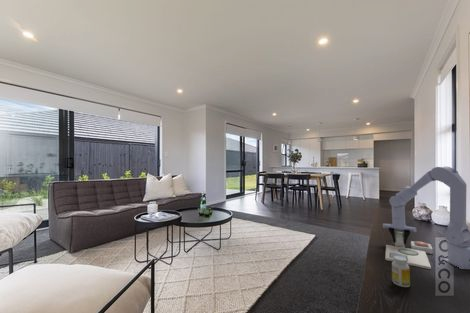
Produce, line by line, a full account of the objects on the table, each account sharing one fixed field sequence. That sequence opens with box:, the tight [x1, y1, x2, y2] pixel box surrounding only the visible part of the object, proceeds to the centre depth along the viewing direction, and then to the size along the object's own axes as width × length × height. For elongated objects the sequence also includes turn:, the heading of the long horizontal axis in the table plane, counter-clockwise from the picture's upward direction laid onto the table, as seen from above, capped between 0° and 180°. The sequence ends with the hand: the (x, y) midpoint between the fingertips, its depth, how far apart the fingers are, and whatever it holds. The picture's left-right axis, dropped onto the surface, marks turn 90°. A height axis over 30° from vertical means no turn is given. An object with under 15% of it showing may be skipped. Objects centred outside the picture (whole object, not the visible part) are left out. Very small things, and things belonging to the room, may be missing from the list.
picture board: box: [384, 244, 432, 270], centre depth 104 cm, size 20×16×1 cm
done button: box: [414, 240, 428, 247], centre depth 112 cm, size 5×5×1 cm
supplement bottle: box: [391, 256, 411, 288], centre depth 81 cm, size 5×5×10 cm
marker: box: [394, 231, 406, 248], centre depth 116 cm, size 4×4×8 cm
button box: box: [410, 240, 434, 255], centre depth 111 cm, size 8×8×2 cm
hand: (399, 242), depth 116 cm, fingers closed on marker, 4 cm apart
